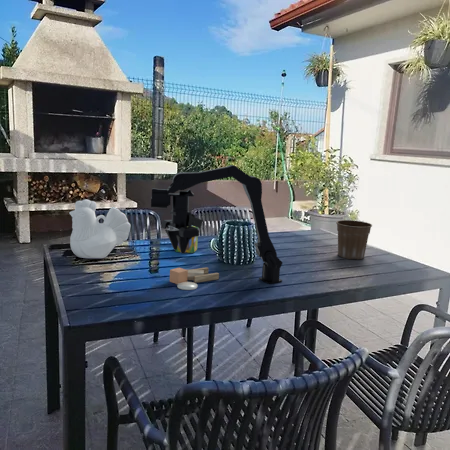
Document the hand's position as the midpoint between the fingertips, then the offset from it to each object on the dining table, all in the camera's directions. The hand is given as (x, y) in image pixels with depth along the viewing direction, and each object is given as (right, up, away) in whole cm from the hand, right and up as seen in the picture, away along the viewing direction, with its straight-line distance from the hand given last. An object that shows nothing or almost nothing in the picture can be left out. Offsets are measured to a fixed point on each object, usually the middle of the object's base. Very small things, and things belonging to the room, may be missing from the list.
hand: (179, 251), depth 153 cm
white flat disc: (+3, -12, -4) cm, 13 cm away
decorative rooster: (-36, -5, +28) cm, 46 cm away
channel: (+7, -10, +7) cm, 15 cm away
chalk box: (-2, -3, +47) cm, 47 cm away
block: (0, -11, +1) cm, 11 cm away
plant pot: (+76, -6, +50) cm, 91 cm away
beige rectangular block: (+4, -11, +5) cm, 13 cm away
